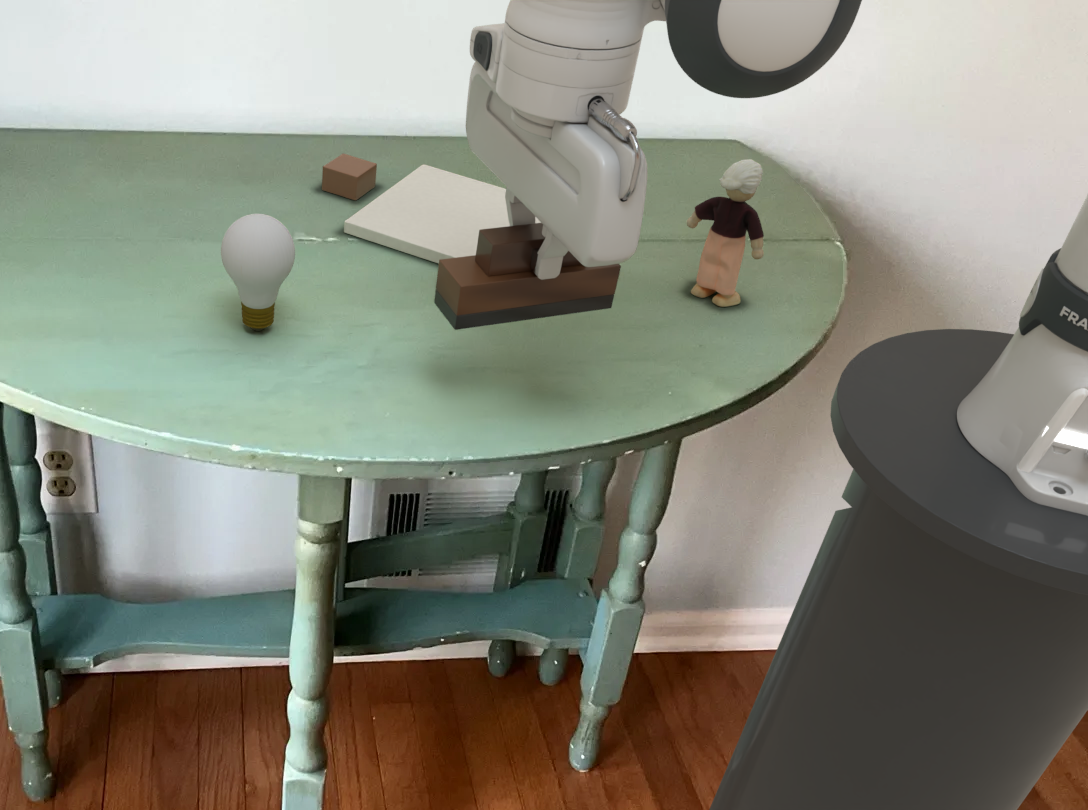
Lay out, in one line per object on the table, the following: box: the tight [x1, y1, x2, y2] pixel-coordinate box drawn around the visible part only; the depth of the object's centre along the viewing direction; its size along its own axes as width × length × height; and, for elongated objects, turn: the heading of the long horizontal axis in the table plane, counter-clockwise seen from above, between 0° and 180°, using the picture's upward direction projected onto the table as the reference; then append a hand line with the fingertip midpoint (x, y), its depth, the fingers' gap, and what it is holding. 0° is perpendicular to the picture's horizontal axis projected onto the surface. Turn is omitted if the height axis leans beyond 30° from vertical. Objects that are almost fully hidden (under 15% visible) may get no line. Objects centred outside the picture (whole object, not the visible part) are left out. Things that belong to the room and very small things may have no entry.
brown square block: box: [321, 153, 378, 201], centre depth 119 cm, size 4×4×2 cm
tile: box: [343, 163, 541, 265], centre depth 115 cm, size 20×16×1 cm
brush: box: [433, 223, 622, 331], centre depth 87 cm, size 13×4×6 cm, turn 110°
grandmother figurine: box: [685, 158, 765, 308], centre depth 104 cm, size 8×4×13 cm, turn 57°
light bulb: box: [220, 213, 296, 332], centre depth 96 cm, size 6×6×10 cm
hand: (532, 261), depth 87 cm, fingers closed on brush, 2 cm apart
